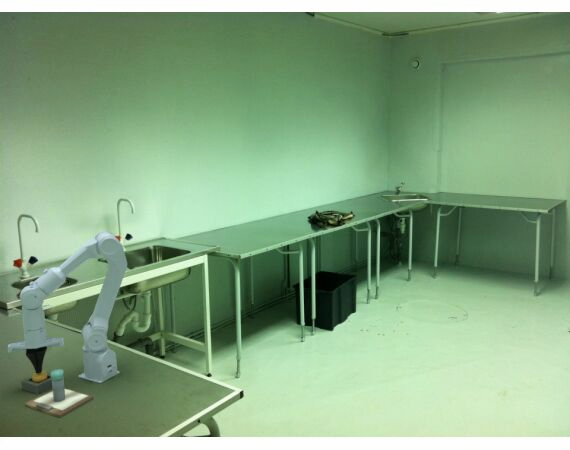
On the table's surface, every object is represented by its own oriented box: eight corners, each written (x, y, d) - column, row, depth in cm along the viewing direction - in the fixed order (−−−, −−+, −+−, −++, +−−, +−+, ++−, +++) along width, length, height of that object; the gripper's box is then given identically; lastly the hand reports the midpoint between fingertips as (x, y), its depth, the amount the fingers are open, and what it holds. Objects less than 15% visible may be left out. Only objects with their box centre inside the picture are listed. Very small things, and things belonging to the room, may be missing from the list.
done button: (50, 379, 153) (49, 372, 153) (38, 385, 150) (37, 377, 149) (41, 376, 155) (40, 369, 154) (29, 382, 151) (28, 375, 151)
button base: (59, 383, 154) (58, 375, 153) (38, 394, 148) (37, 386, 147) (43, 379, 157) (42, 371, 157) (22, 389, 151) (21, 381, 151)
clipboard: (93, 398, 144) (93, 394, 144) (60, 417, 135) (59, 413, 135) (59, 388, 151) (58, 384, 151) (24, 405, 141) (24, 401, 141)
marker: (67, 396, 144) (65, 369, 143) (62, 402, 141) (60, 374, 140) (56, 396, 144) (53, 369, 143) (51, 402, 141) (48, 374, 140)
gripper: (63, 319, 155) (67, 362, 158) (9, 325, 151) (14, 369, 153) (60, 328, 149) (64, 372, 151) (4, 334, 144) (9, 380, 147)
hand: (39, 371), depth 152 cm, fingers closed
